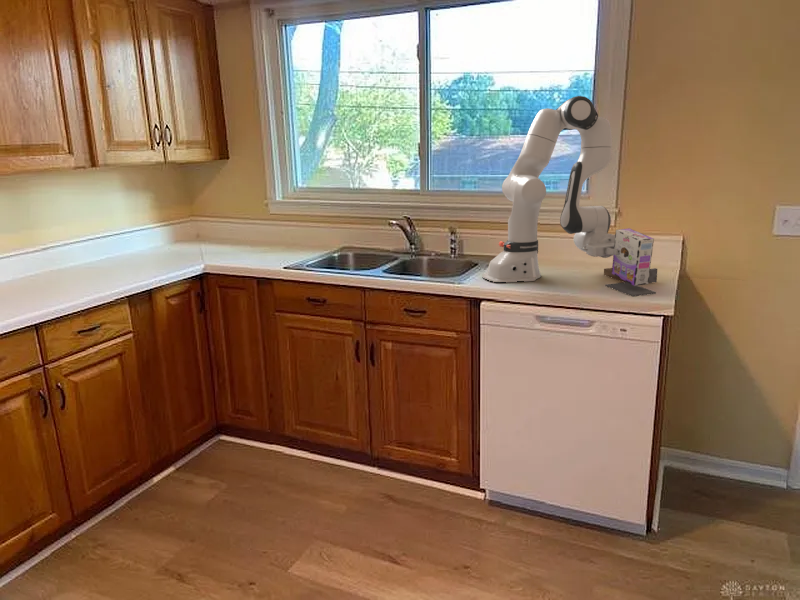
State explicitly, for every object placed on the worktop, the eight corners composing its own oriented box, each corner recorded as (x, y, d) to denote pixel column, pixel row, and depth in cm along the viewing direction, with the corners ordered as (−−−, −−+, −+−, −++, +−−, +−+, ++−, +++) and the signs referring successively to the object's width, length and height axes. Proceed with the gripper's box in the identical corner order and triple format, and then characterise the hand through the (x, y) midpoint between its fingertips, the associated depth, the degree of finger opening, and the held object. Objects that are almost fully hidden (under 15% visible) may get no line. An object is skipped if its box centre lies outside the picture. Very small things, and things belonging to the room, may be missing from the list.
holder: (632, 285, 223) (633, 271, 221) (603, 275, 239) (604, 262, 238) (656, 282, 225) (657, 268, 224) (626, 272, 242) (627, 259, 241)
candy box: (649, 284, 212) (655, 238, 205) (633, 286, 210) (639, 240, 204) (625, 271, 224) (630, 227, 217) (610, 273, 222) (615, 229, 216)
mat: (632, 296, 208) (632, 294, 208) (605, 286, 223) (605, 284, 222) (656, 293, 210) (656, 292, 210) (627, 283, 225) (627, 282, 225)
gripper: (579, 239, 225) (601, 245, 213) (628, 234, 231) (652, 239, 218) (578, 256, 227) (600, 263, 214) (627, 251, 232) (651, 257, 219)
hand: (627, 251), depth 216 cm, fingers closed on candy box, 6 cm apart
